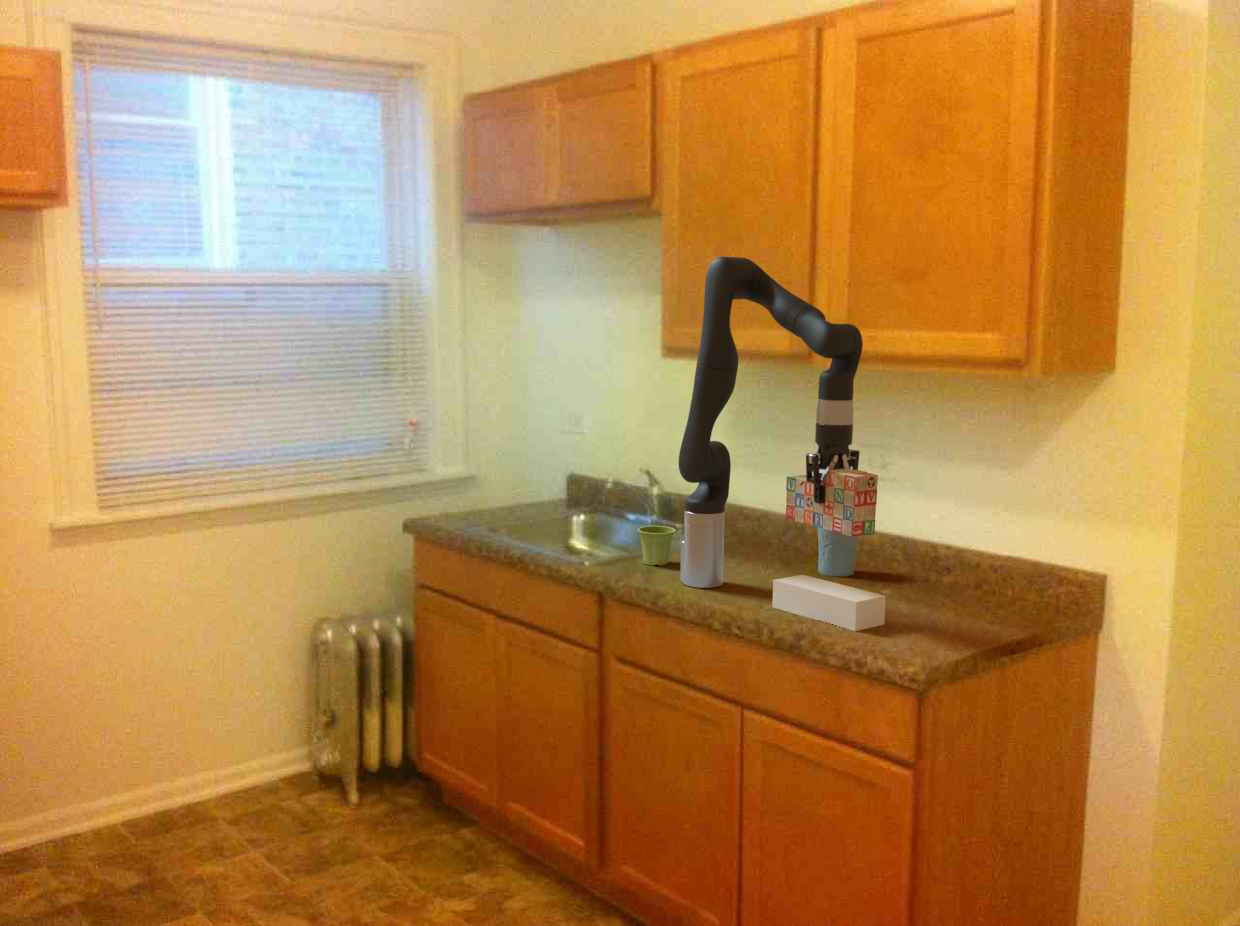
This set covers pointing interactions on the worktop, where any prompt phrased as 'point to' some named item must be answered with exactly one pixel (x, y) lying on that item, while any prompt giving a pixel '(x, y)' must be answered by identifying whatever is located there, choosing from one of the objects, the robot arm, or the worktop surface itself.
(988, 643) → the worktop surface
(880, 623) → the block
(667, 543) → the plant pot
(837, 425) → the robot arm
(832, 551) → the blue cup
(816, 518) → the stack of blocks
